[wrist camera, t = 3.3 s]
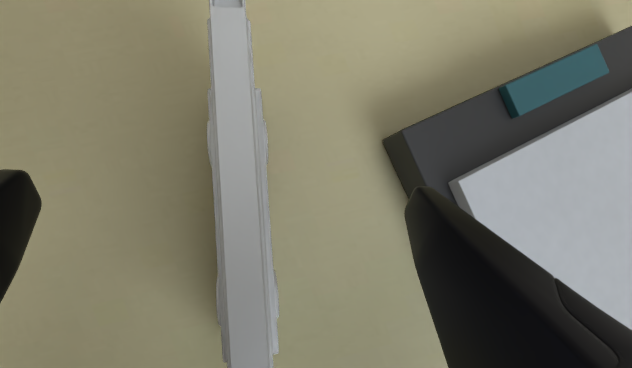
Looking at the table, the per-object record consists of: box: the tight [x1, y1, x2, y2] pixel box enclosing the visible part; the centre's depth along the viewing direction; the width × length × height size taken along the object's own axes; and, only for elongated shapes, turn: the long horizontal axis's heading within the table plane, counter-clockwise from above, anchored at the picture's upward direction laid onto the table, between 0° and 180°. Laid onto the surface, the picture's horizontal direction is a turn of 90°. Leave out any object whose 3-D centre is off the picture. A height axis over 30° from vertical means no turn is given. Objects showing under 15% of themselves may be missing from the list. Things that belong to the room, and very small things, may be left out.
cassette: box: [207, 0, 279, 368], centre depth 11 cm, size 12×2×8 cm, turn 4°
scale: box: [383, 26, 632, 330], centre depth 17 cm, size 19×17×3 cm
